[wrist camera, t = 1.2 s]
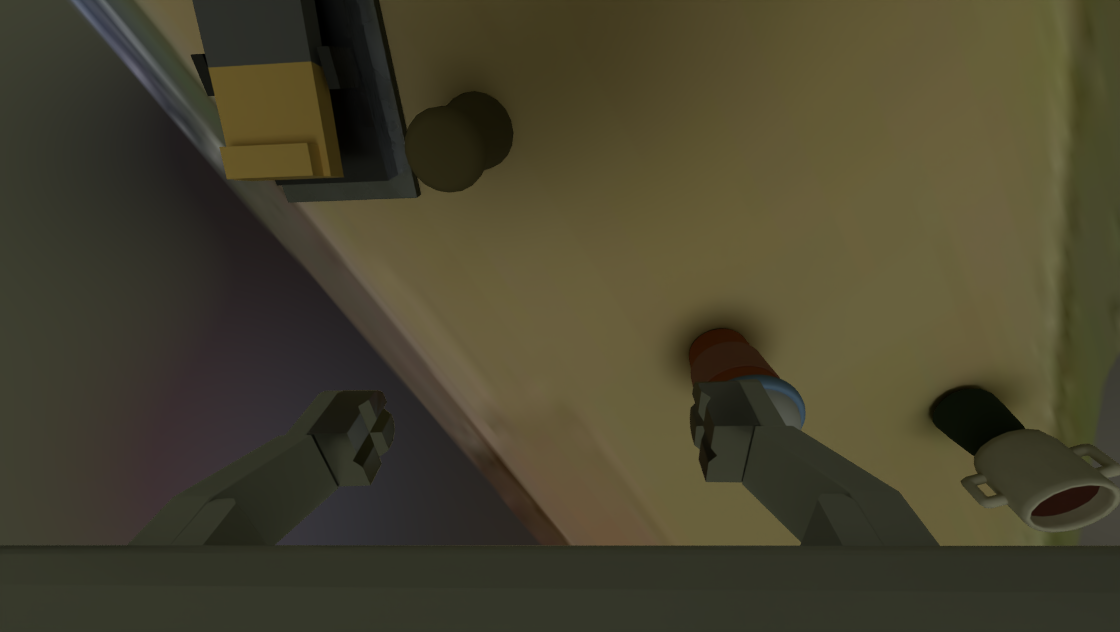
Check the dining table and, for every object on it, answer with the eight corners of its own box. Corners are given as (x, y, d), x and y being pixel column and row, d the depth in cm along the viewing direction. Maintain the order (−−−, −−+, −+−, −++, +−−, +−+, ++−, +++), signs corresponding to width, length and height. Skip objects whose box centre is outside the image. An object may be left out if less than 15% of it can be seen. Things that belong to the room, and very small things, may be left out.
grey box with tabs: (186, -93, 29) (88, -133, 23) (355, -108, 28) (297, -153, 22) (294, 199, 39) (245, 222, 33) (420, 194, 38) (392, 216, 32)
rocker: (201, -47, 27) (158, -75, 24) (305, -56, 26) (273, -84, 24) (252, 181, 31) (220, 179, 28) (343, 177, 30) (320, 175, 27)
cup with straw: (663, 333, 44) (707, 475, 29) (750, 303, 42) (848, 439, 27) (688, 393, 48) (738, 546, 33) (769, 368, 46) (863, 520, 31)
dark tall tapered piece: (527, 141, 35) (507, 168, 26) (474, 183, 37) (437, 222, 28) (481, 74, 33) (440, 76, 23) (426, 122, 35) (368, 142, 25)
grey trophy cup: (911, 441, 51) (1004, 546, 40) (899, 403, 48) (995, 505, 37) (1016, 407, 47) (1151, 512, 36) (1011, 364, 44) (1154, 464, 33)
